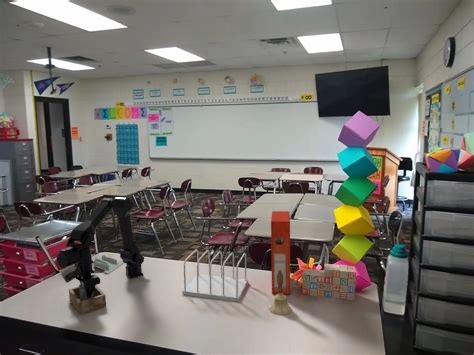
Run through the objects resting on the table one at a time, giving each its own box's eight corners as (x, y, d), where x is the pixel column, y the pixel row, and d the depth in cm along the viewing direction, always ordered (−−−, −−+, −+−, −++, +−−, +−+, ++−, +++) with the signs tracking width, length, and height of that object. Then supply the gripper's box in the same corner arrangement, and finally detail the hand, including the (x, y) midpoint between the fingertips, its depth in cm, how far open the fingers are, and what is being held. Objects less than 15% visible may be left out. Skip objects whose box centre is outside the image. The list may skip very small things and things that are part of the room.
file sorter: (182, 295, 147) (180, 260, 144) (196, 278, 163) (195, 246, 161) (238, 302, 140) (238, 265, 138) (248, 283, 157) (247, 250, 155)
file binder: (271, 294, 146) (270, 221, 141) (272, 276, 163) (272, 211, 158) (290, 295, 145) (290, 221, 140) (289, 277, 162) (289, 211, 157)
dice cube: (80, 301, 137) (79, 289, 136) (80, 296, 142) (79, 284, 141) (93, 298, 139) (92, 287, 138) (93, 293, 144) (92, 282, 143)
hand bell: (277, 317, 128) (277, 276, 126) (265, 307, 136) (265, 268, 133) (295, 311, 132) (296, 272, 130) (283, 302, 139) (283, 264, 137)
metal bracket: (86, 261, 171) (103, 251, 185) (84, 272, 172) (102, 260, 186) (111, 271, 168) (127, 259, 183) (109, 282, 170) (125, 269, 184)
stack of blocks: (301, 295, 145) (302, 267, 143) (302, 288, 151) (303, 261, 149) (355, 300, 140) (356, 271, 138) (354, 293, 146) (355, 265, 144)
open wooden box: (94, 293, 150) (93, 282, 149) (106, 306, 138) (105, 294, 137) (69, 300, 143) (68, 289, 143) (79, 315, 132) (78, 303, 131)
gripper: (56, 257, 140) (59, 292, 142) (68, 271, 126) (72, 311, 128) (85, 250, 147) (88, 284, 149) (99, 263, 133) (102, 301, 135)
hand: (87, 294), depth 140 cm, fingers closed on dice cube, 5 cm apart
